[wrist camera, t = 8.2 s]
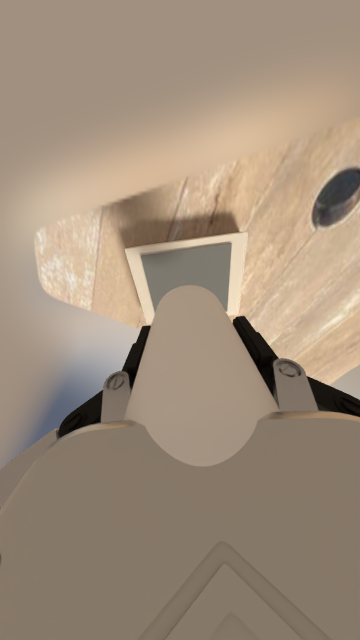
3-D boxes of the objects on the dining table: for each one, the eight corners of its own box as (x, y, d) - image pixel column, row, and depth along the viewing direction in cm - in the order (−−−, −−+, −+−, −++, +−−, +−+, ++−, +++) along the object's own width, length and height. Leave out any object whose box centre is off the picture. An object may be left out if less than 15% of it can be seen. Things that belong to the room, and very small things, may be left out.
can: (152, 284, 12) (32, 520, 2) (225, 282, 12) (433, 518, 2) (159, 340, 16) (125, 531, 6) (217, 338, 16) (283, 531, 6)
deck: (239, 231, 20) (249, 232, 17) (232, 306, 26) (239, 315, 24) (131, 246, 21) (123, 249, 18) (149, 314, 28) (146, 324, 25)
